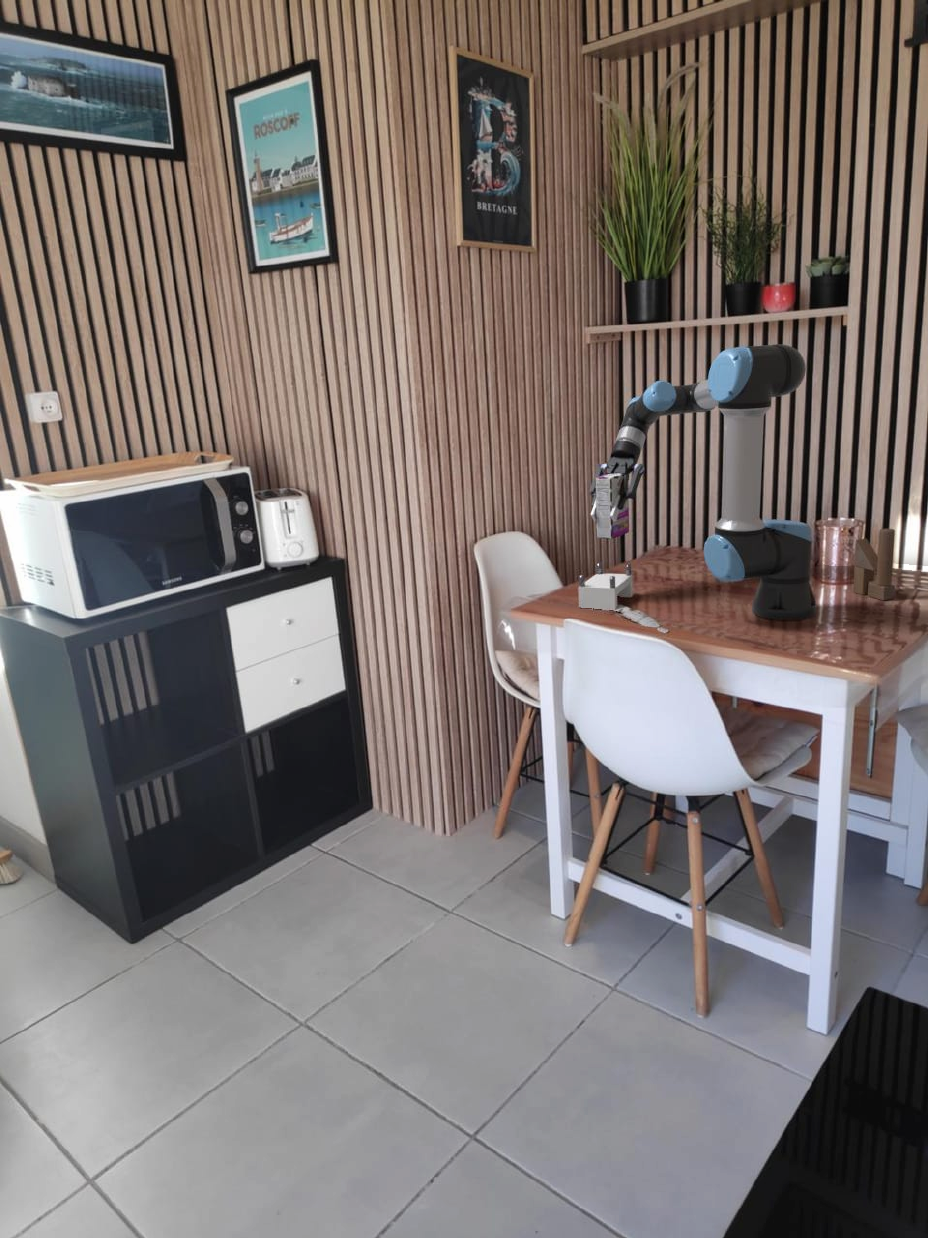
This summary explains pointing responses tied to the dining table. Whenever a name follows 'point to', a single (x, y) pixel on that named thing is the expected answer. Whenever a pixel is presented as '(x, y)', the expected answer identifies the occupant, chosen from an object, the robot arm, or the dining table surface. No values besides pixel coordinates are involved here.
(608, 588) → the peg shelf
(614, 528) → the candy bar box
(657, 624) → the driftwood
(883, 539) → the wooden block stack
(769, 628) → the dining table surface
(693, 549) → the dining table surface
